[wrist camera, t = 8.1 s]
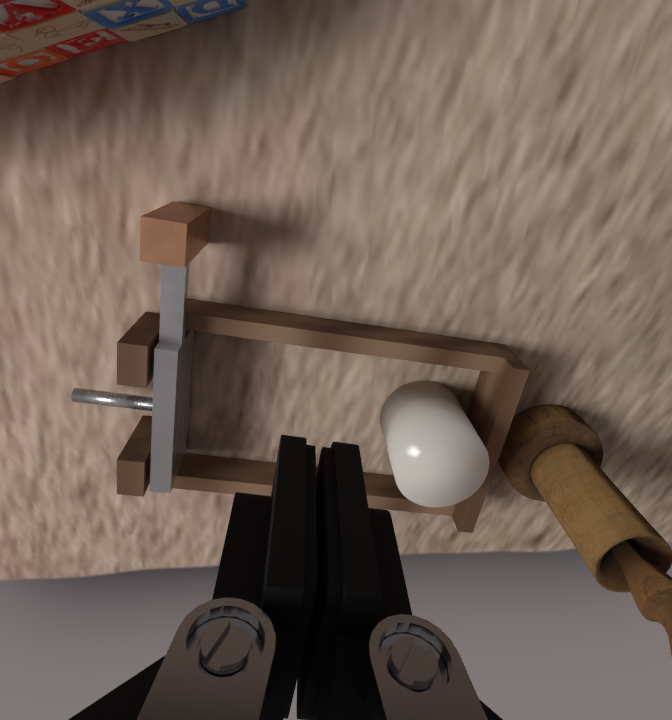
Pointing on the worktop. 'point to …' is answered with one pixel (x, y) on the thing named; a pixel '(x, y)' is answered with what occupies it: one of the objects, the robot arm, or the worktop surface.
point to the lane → (228, 475)
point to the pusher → (166, 337)
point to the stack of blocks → (88, 27)
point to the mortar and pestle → (589, 506)
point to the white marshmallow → (432, 445)
